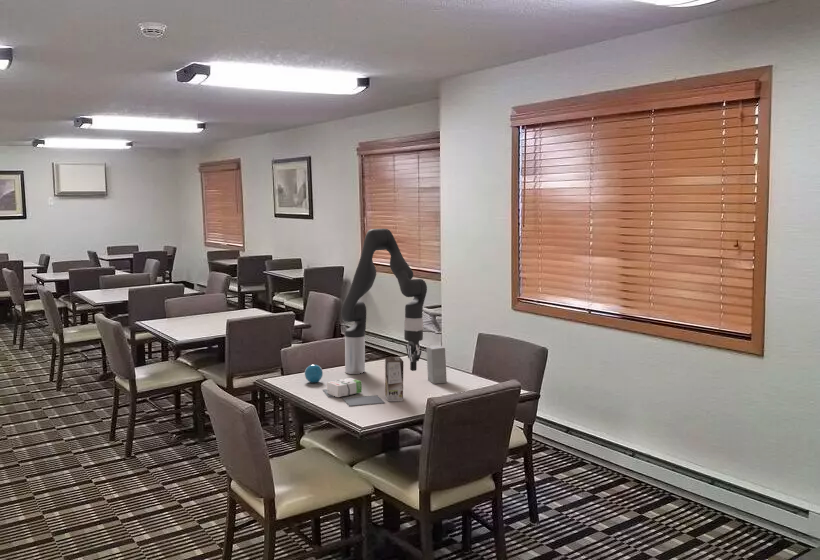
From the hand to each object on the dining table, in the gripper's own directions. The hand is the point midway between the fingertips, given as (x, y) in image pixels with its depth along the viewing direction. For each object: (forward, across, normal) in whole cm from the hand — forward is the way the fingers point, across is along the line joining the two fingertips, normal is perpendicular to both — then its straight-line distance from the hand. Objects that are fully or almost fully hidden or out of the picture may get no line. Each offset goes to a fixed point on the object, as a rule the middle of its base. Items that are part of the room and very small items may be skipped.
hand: (413, 370), depth 280 cm
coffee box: (+11, 0, -8) cm, 14 cm away
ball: (+11, -35, -34) cm, 50 cm away
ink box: (+8, -14, -20) cm, 26 cm away
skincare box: (+11, -20, +18) cm, 29 cm away
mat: (+11, -8, -23) cm, 27 cm away
